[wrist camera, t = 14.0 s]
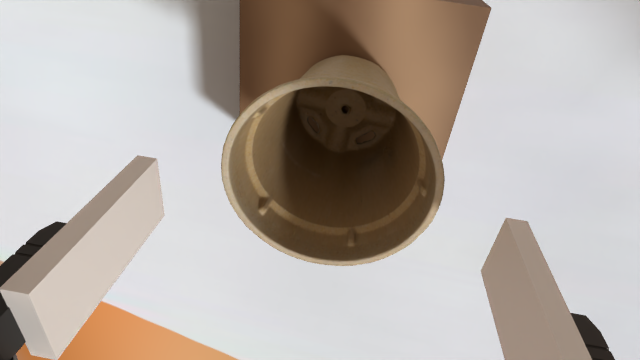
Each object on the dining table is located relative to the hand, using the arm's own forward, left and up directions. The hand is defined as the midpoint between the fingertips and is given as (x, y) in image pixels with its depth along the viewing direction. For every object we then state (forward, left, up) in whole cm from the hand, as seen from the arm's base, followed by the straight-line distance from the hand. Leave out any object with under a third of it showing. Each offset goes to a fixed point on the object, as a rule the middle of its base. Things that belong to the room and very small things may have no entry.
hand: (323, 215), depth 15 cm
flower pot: (0, 0, -11) cm, 11 cm away
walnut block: (0, 0, -17) cm, 17 cm away
